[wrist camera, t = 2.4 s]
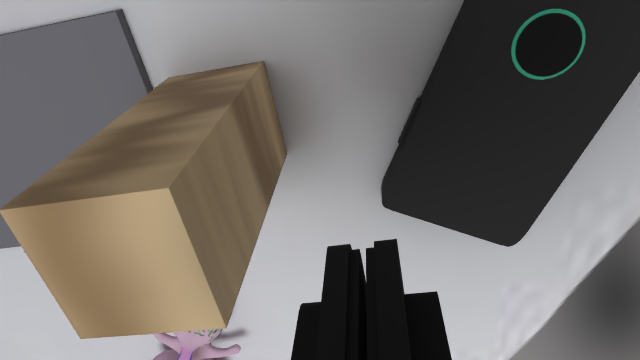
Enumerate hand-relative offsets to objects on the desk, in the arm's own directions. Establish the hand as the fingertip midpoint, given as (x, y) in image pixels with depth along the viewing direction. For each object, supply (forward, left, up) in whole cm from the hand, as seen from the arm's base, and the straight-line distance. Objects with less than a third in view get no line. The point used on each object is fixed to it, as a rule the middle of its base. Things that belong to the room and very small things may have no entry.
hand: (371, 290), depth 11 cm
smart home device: (-8, -2, -14) cm, 16 cm away
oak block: (+7, -1, -13) cm, 15 cm away
